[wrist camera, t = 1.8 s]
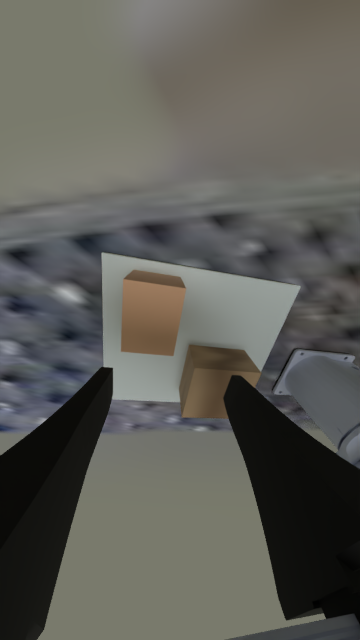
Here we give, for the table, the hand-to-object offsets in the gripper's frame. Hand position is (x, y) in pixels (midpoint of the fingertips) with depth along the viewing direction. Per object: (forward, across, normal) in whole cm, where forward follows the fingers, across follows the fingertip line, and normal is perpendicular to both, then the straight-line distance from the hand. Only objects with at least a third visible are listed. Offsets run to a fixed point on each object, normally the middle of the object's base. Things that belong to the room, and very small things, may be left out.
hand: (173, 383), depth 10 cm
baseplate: (+10, -3, +3) cm, 11 cm away
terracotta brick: (+9, +2, -2) cm, 9 cm away
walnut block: (+9, -6, +6) cm, 12 cm away
